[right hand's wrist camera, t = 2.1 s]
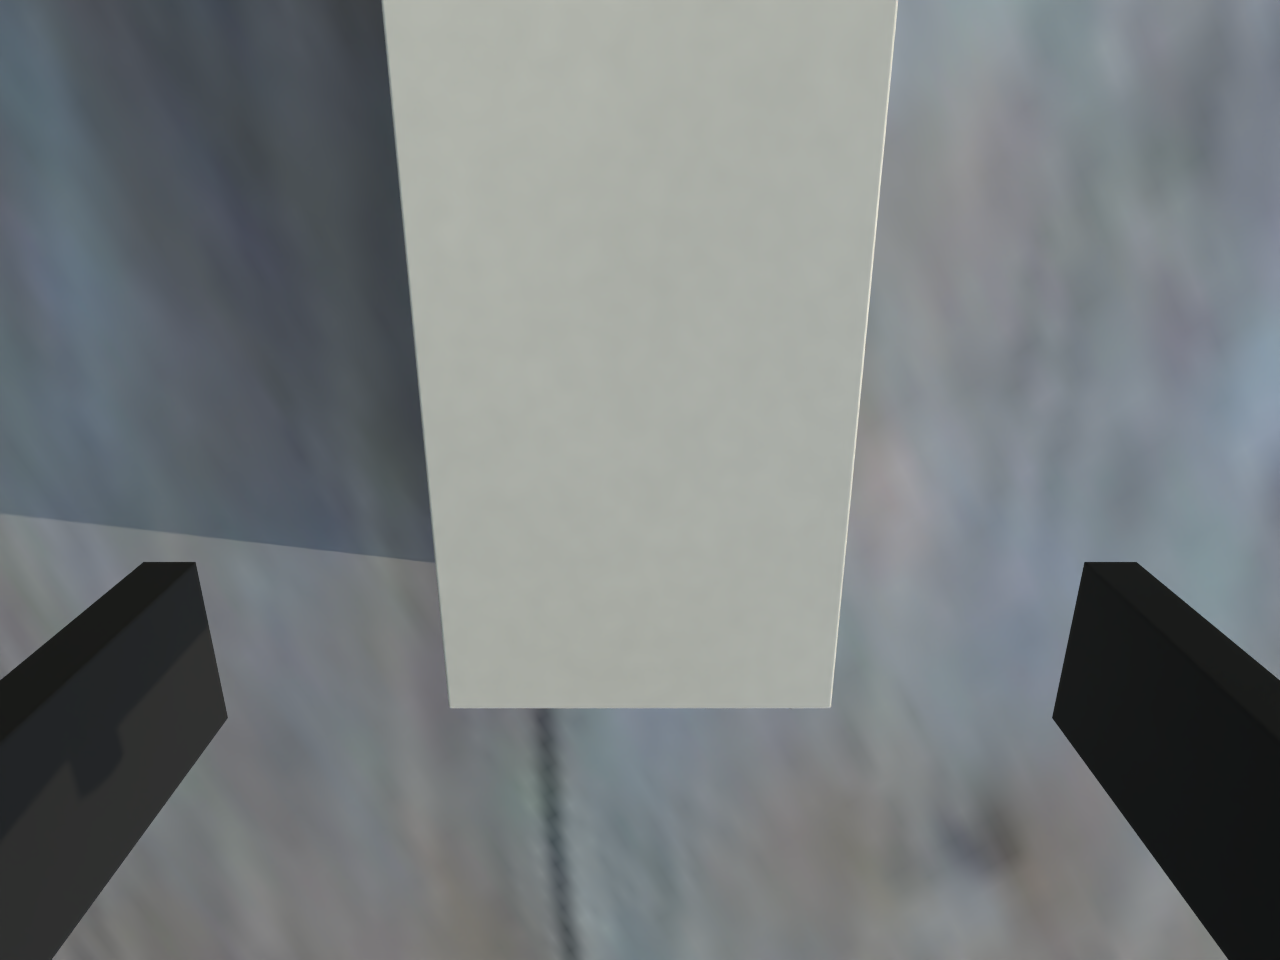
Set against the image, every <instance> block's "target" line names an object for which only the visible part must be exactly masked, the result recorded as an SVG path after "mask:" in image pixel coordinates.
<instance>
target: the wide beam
mask: <svg viewBox="0 0 1280 960" xmlns="http://www.w3.org/2000/svg"><path fill="white" fill-rule="evenodd" d="M381 2H382V13H383V23H384V34H385V44H386V55H387V65H388V75H389V86H390V96H391V107H392V117H393V128H394V138H395V148H396V159H397V169H398V180H399V190H400V201H401V211H402V222H403V232H404V242H405V253H406V263H407V274H408V284H409V295H410V305H411V315H412V326H413V336H414V347H415V357H416V368H417V378H418V388H419V399H420V409H421V420H422V430H423V441H424V451H425V461H426V472H427V482H428V493H429V503H430V514H431V524H432V534H433V545H434V555H435V566H436V576H437V587H438V597H439V607H440V618H441V628H442V639H443V649H444V660H445V670H446V680H447V691H448V701H449V707H450V708H830V707H831V700H832V689H833V678H834V668H835V657H836V647H837V636H838V626H839V615H840V605H841V594H842V584H843V573H844V563H845V552H846V542H847V531H848V521H849V510H850V500H851V489H852V479H853V468H854V458H855V447H856V437H857V426H858V416H859V405H860V395H861V384H862V374H863V363H864V353H865V342H866V332H867V321H868V311H869V300H870V290H871V279H872V269H873V258H874V248H875V237H876V227H877V216H878V206H879V195H880V185H881V174H882V164H883V153H884V143H885V132H886V122H887V111H888V101H889V90H890V80H891V69H892V59H893V48H894V38H895V27H896V17H897V6H898V0H381Z"/></svg>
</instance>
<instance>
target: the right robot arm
mask: <svg viewBox="0 0 1280 960" xmlns="http://www.w3.org/2000/svg"><path fill="white" fill-rule="evenodd" d="M227 718H228V717H227V712H226V707H225V702H224V697H223V693H222V688H221V683H220V678H219V673H218V668H217V664H216V659H215V654H214V649H213V644H212V639H211V635H210V630H209V625H208V620H207V615H206V611H205V606H204V601H203V596H202V591H201V586H200V582H199V577H198V572H197V567H196V562H143V563H142V564H141V565H140V566H138V567H137V568H136V569H135V570H133V571H132V572H131V573H130V574H129V575H127V576H126V577H125V578H124V579H123V580H121V581H120V582H119V583H118V584H117V585H115V586H114V587H113V588H112V589H110V590H109V591H108V592H107V593H106V594H104V595H103V596H102V597H101V598H100V599H98V600H97V601H96V602H95V603H93V604H92V605H91V606H90V607H89V608H87V609H86V610H85V611H84V612H83V613H81V614H80V615H79V616H78V617H77V618H75V619H74V620H73V621H72V622H70V623H69V624H68V625H67V626H66V627H64V628H63V629H62V630H61V631H60V632H58V633H57V634H56V635H55V636H53V637H52V638H51V639H50V640H49V641H47V642H46V643H45V644H44V645H43V646H41V647H40V648H39V649H38V650H37V651H35V652H34V653H33V654H32V655H30V656H29V657H28V658H27V659H26V660H24V661H23V662H22V663H21V664H20V665H18V666H17V667H16V668H15V669H14V670H12V671H11V672H10V673H9V674H7V675H6V676H5V677H4V678H3V679H1V680H0V960H52V958H53V957H54V956H55V954H56V953H57V951H58V950H59V949H60V947H61V946H62V945H63V943H64V942H65V940H66V939H67V938H68V936H69V935H70V934H71V932H72V931H73V929H74V928H75V927H76V925H77V924H78V923H79V921H80V920H81V918H82V917H83V916H84V914H85V913H86V912H87V910H88V909H89V908H90V906H91V905H92V903H93V902H94V901H95V899H96V898H97V897H98V895H99V894H100V892H101V891H102V890H103V888H104V887H105V886H106V884H107V883H108V881H109V880H110V879H111V877H112V876H113V875H114V873H115V872H116V870H117V869H118V868H119V866H120V865H121V864H122V862H123V861H124V860H125V858H126V857H127V855H128V854H129V853H130V851H131V850H132V849H133V847H134V846H135V844H136V843H137V842H138V840H139V839H140V838H141V836H142V835H143V833H144V832H145V831H146V829H147V828H148V827H149V825H150V824H151V822H152V821H153V820H154V818H155V817H156V816H157V814H158V813H159V812H160V810H161V809H162V807H163V806H164V805H165V803H166V802H167V801H168V799H169V798H170V796H171V795H172V794H173V792H174V791H175V790H176V788H177V787H178V785H179V784H180V783H181V781H182V780H183V779H184V777H185V776H186V774H187V773H188V772H189V770H190V769H191V768H192V766H193V765H194V764H195V762H196V761H197V759H198V758H199V757H200V755H201V754H202V753H203V751H204V750H205V748H206V747H207V746H208V744H209V743H210V742H211V740H212V739H213V737H214V736H215V735H216V733H217V732H218V731H219V729H220V728H221V726H222V725H223V724H224V722H225V721H226V720H227ZM1052 718H1053V720H1054V721H1055V722H1056V724H1057V725H1058V726H1059V728H1060V729H1061V731H1062V732H1063V733H1064V735H1065V736H1066V737H1067V739H1068V740H1069V742H1070V743H1071V744H1072V746H1073V747H1074V748H1075V750H1076V751H1077V753H1078V754H1079V755H1080V757H1081V758H1082V759H1083V761H1084V762H1085V764H1086V765H1087V766H1088V768H1089V769H1090V770H1091V772H1092V773H1093V774H1094V776H1095V777H1096V779H1097V780H1098V781H1099V783H1100V784H1101V785H1102V787H1103V788H1104V790H1105V791H1106V792H1107V794H1108V795H1109V796H1110V798H1111V799H1112V801H1113V802H1114V803H1115V805H1116V806H1117V807H1118V809H1119V810H1120V812H1121V813H1122V814H1123V816H1124V817H1125V818H1126V820H1127V821H1128V822H1129V824H1130V825H1131V827H1132V828H1133V829H1134V831H1135V832H1136V833H1137V835H1138V836H1139V838H1140V839H1141V840H1142V842H1143V843H1144V844H1145V846H1146V847H1147V849H1148V850H1149V851H1150V853H1151V854H1152V855H1153V857H1154V858H1155V860H1156V861H1157V862H1158V864H1159V865H1160V866H1161V868H1162V869H1163V870H1164V872H1165V873H1166V875H1167V876H1168V877H1169V879H1170V880H1171V881H1172V883H1173V884H1174V886H1175V887H1176V888H1177V890H1178V891H1179V892H1180V894H1181V895H1182V897H1183V898H1184V899H1185V901H1186V902H1187V903H1188V905H1189V906H1190V908H1191V909H1192V910H1193V912H1194V913H1195V914H1196V916H1197V917H1198V919H1199V920H1200V921H1201V923H1202V924H1203V925H1204V927H1205V928H1206V929H1207V931H1208V932H1209V934H1210V935H1211V936H1212V938H1213V939H1214V940H1215V942H1216V943H1217V945H1218V946H1219V947H1220V949H1221V950H1222V951H1223V953H1224V954H1225V956H1226V957H1227V958H1228V960H1280V680H1279V679H1277V678H1276V677H1275V676H1274V675H1273V674H1271V673H1270V672H1269V671H1268V670H1266V669H1265V668H1264V667H1263V666H1262V665H1260V664H1259V663H1258V662H1257V661H1256V660H1254V659H1253V658H1252V657H1251V656H1250V655H1248V654H1247V653H1246V652H1245V651H1243V650H1242V649H1241V648H1240V647H1239V646H1237V645H1236V644H1235V643H1234V642H1233V641H1231V640H1230V639H1229V638H1228V637H1226V636H1225V635H1224V634H1223V633H1222V632H1220V631H1219V630H1218V629H1217V628H1216V627H1214V626H1213V625H1212V624H1211V623H1210V622H1208V621H1207V620H1206V619H1205V618H1203V617H1202V616H1201V615H1200V614H1199V613H1197V612H1196V611H1195V610H1194V609H1193V608H1191V607H1190V606H1189V605H1188V604H1187V603H1185V602H1184V601H1183V600H1182V599H1180V598H1179V597H1178V596H1177V595H1176V594H1174V593H1173V592H1172V591H1171V590H1170V589H1168V588H1167V587H1166V586H1165V585H1163V584H1162V583H1161V582H1160V581H1159V580H1157V579H1156V578H1155V577H1154V576H1153V575H1151V574H1150V573H1149V572H1148V571H1147V570H1145V569H1144V568H1143V567H1142V566H1140V565H1139V564H1138V563H1137V562H1084V567H1083V572H1082V577H1081V582H1080V586H1079V591H1078V596H1077V601H1076V606H1075V611H1074V615H1073V620H1072V625H1071V630H1070V635H1069V639H1068V644H1067V649H1066V654H1065V659H1064V664H1063V668H1062V673H1061V678H1060V683H1059V688H1058V693H1057V697H1056V702H1055V707H1054V712H1053V717H1052Z"/></svg>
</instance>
